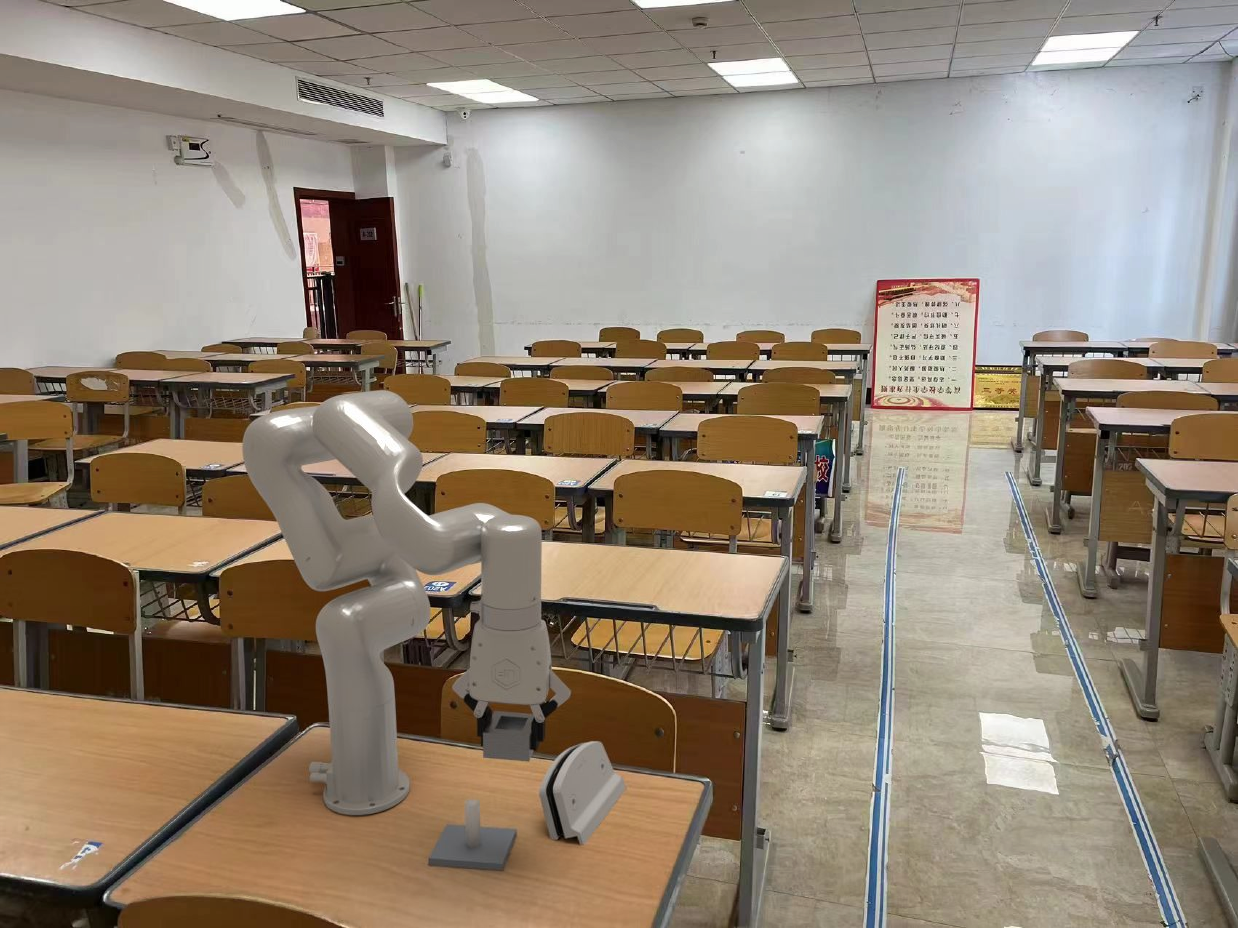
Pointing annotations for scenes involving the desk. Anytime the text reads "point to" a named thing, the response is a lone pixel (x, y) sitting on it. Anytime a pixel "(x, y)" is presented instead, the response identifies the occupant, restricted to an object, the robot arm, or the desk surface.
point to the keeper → (473, 843)
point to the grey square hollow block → (508, 736)
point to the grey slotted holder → (579, 791)
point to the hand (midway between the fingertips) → (511, 742)
